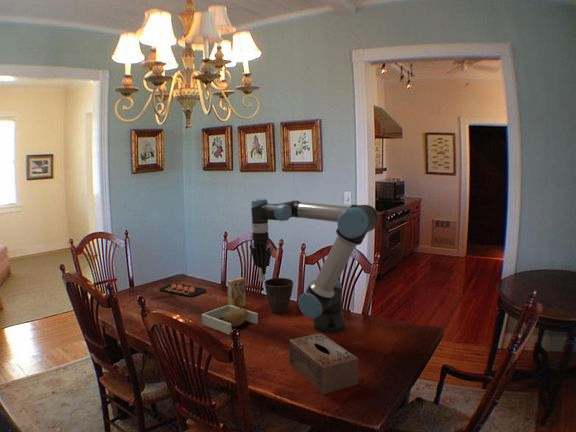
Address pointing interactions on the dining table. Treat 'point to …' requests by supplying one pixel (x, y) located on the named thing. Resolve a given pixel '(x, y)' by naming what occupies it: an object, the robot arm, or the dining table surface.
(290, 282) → the plant pot
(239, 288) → the candy box
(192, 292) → the sushi plate
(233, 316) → the potato
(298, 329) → the dining table surface
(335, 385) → the tissue box cover
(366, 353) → the dining table surface
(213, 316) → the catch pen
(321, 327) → the robot arm
